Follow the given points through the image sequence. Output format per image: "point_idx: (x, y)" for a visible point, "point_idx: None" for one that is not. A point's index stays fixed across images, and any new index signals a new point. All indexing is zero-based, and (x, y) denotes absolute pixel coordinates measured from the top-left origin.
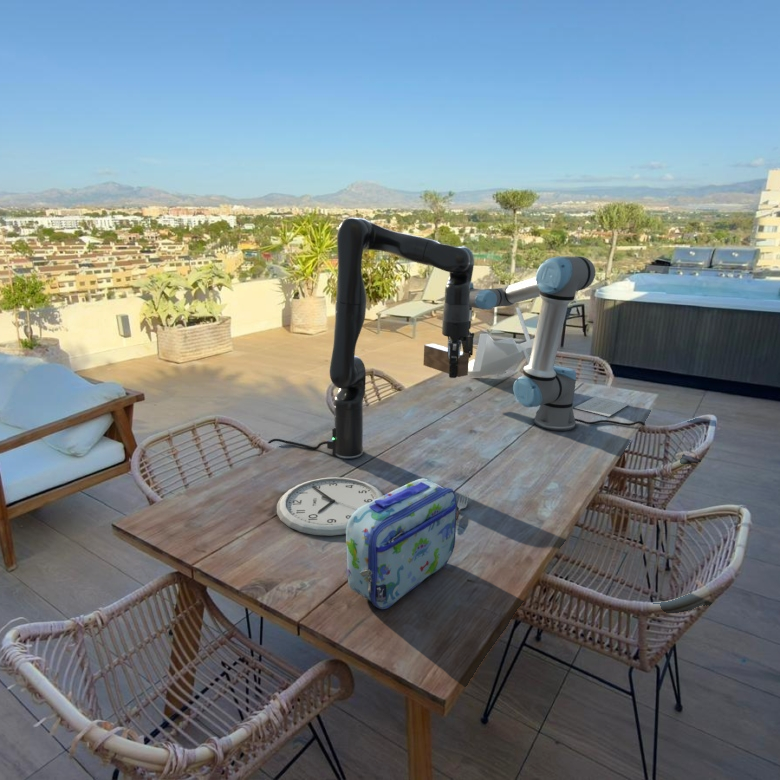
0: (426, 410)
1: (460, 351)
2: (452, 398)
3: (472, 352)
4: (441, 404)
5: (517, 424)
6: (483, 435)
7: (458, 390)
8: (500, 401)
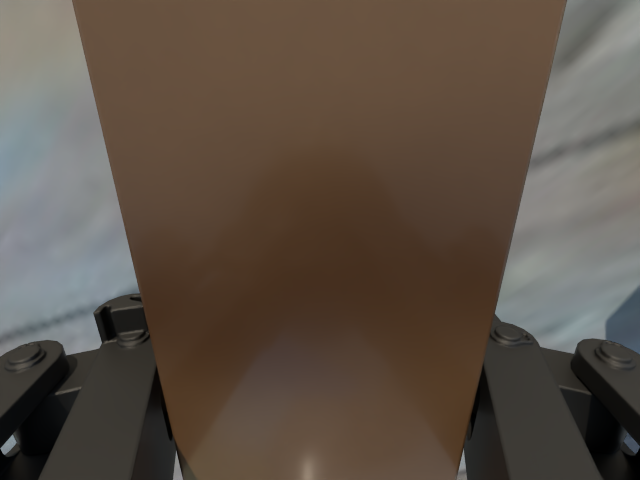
0: (83, 196)
1: (466, 347)
2: None
3: (623, 473)
4: None
5: None
6: None
7: None
8: (502, 298)
